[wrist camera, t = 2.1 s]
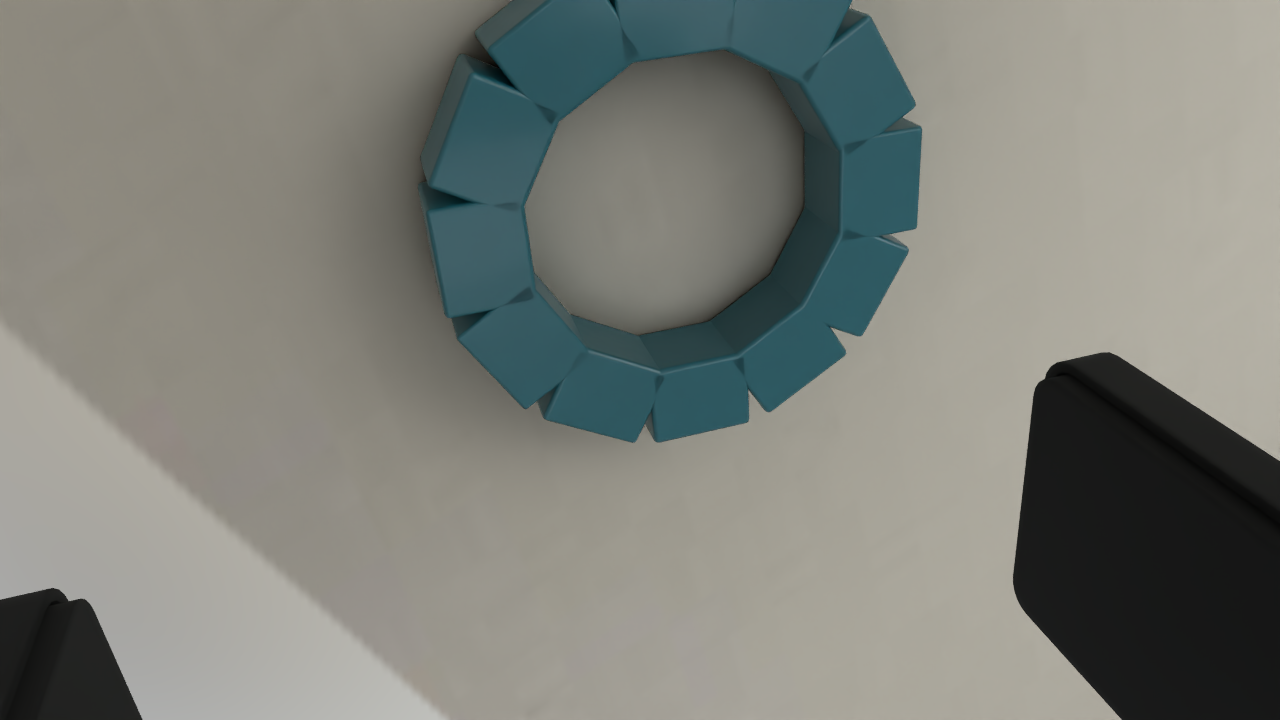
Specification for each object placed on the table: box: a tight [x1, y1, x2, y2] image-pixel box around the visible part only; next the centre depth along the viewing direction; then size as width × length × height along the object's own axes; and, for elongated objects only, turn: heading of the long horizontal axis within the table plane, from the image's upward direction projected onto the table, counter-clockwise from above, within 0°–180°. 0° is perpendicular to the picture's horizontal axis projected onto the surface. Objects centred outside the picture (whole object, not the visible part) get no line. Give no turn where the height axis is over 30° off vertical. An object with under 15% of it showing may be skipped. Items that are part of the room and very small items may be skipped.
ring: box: [418, 0, 922, 443], centre depth 18 cm, size 9×9×2 cm
